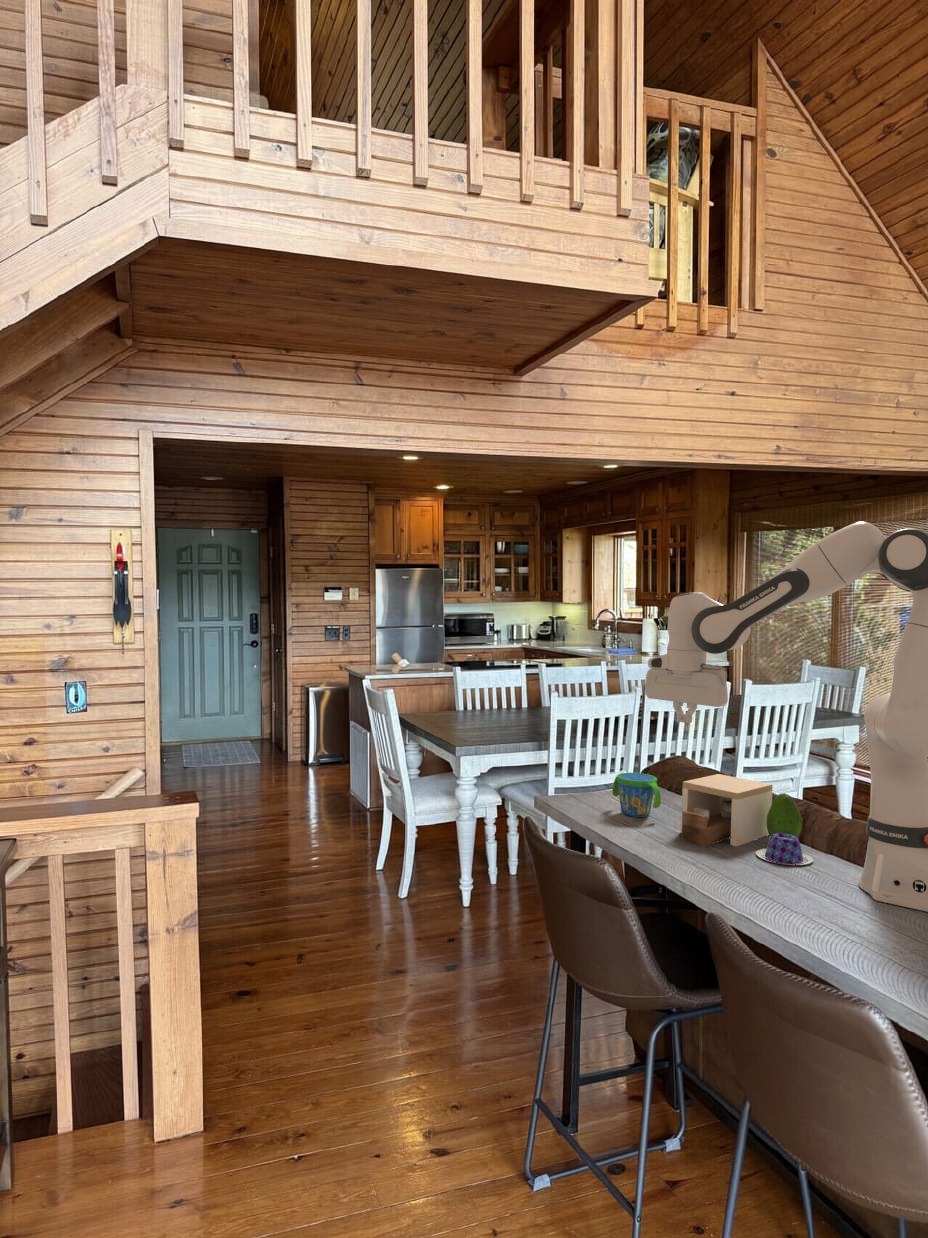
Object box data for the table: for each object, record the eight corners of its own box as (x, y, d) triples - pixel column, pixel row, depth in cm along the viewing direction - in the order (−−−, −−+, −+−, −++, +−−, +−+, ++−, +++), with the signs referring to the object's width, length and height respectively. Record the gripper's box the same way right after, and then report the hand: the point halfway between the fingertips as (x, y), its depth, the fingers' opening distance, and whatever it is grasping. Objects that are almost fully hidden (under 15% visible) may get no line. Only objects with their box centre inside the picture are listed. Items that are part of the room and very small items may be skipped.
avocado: (767, 846, 195) (768, 795, 195) (764, 837, 203) (765, 788, 202) (803, 849, 193) (805, 798, 193) (799, 840, 201) (801, 791, 200)
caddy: (746, 832, 206) (747, 802, 206) (703, 846, 194) (704, 814, 194) (724, 827, 211) (725, 798, 211) (681, 840, 198) (682, 809, 198)
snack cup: (670, 819, 217) (672, 780, 217) (639, 823, 212) (640, 784, 212) (632, 805, 231) (633, 769, 231) (601, 809, 226) (602, 772, 226)
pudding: (824, 864, 184) (825, 840, 184) (787, 871, 178) (788, 847, 178) (780, 849, 194) (781, 826, 194) (744, 855, 189) (744, 832, 188)
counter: (770, 835, 205) (772, 784, 205) (736, 846, 194) (737, 793, 194) (716, 821, 216) (718, 774, 216) (681, 832, 206) (682, 781, 205)
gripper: (734, 665, 186) (732, 727, 186) (658, 659, 201) (656, 715, 201) (718, 666, 182) (716, 729, 182) (642, 659, 197) (640, 717, 197)
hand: (684, 722), depth 192 cm, fingers closed
